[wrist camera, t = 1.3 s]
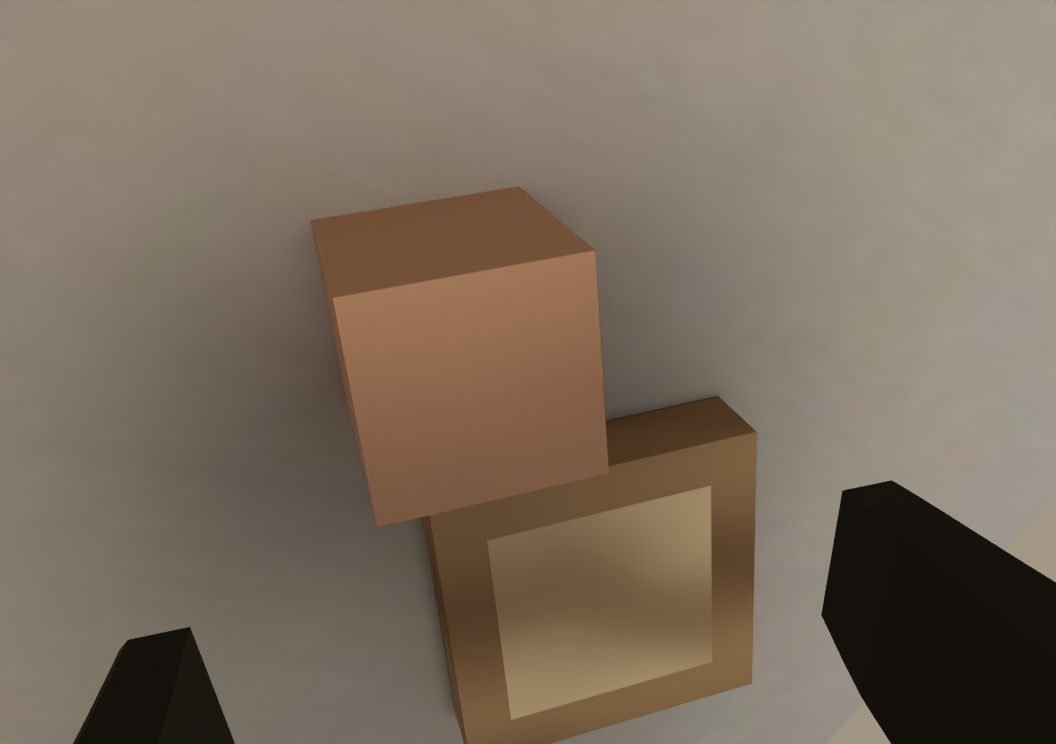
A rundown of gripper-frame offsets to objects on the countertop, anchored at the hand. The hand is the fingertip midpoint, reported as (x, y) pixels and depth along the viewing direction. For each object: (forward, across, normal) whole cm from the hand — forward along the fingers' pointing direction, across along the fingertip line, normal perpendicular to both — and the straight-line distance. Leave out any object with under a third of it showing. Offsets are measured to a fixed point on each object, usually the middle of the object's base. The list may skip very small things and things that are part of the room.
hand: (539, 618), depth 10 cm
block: (+11, 0, +2) cm, 12 cm away
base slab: (+10, -3, +10) cm, 15 cm away
